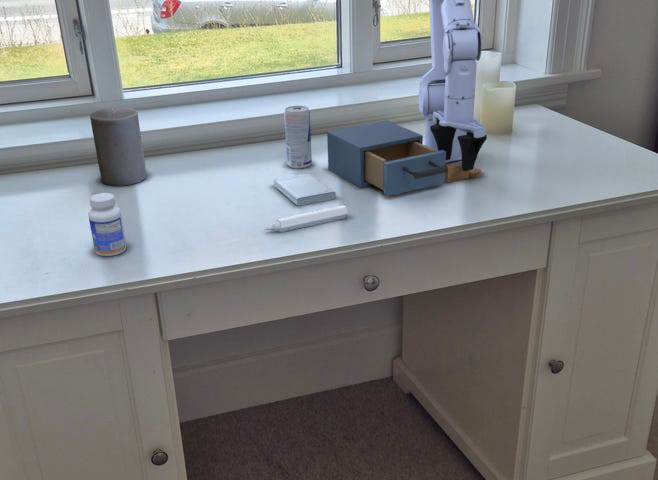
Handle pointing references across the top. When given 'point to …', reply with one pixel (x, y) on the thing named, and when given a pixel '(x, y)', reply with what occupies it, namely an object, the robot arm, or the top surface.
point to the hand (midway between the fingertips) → (456, 164)
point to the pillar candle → (118, 146)
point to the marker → (309, 219)
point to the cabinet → (363, 147)
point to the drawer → (404, 167)
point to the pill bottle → (106, 225)
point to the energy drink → (298, 136)
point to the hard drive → (304, 189)
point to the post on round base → (460, 172)
